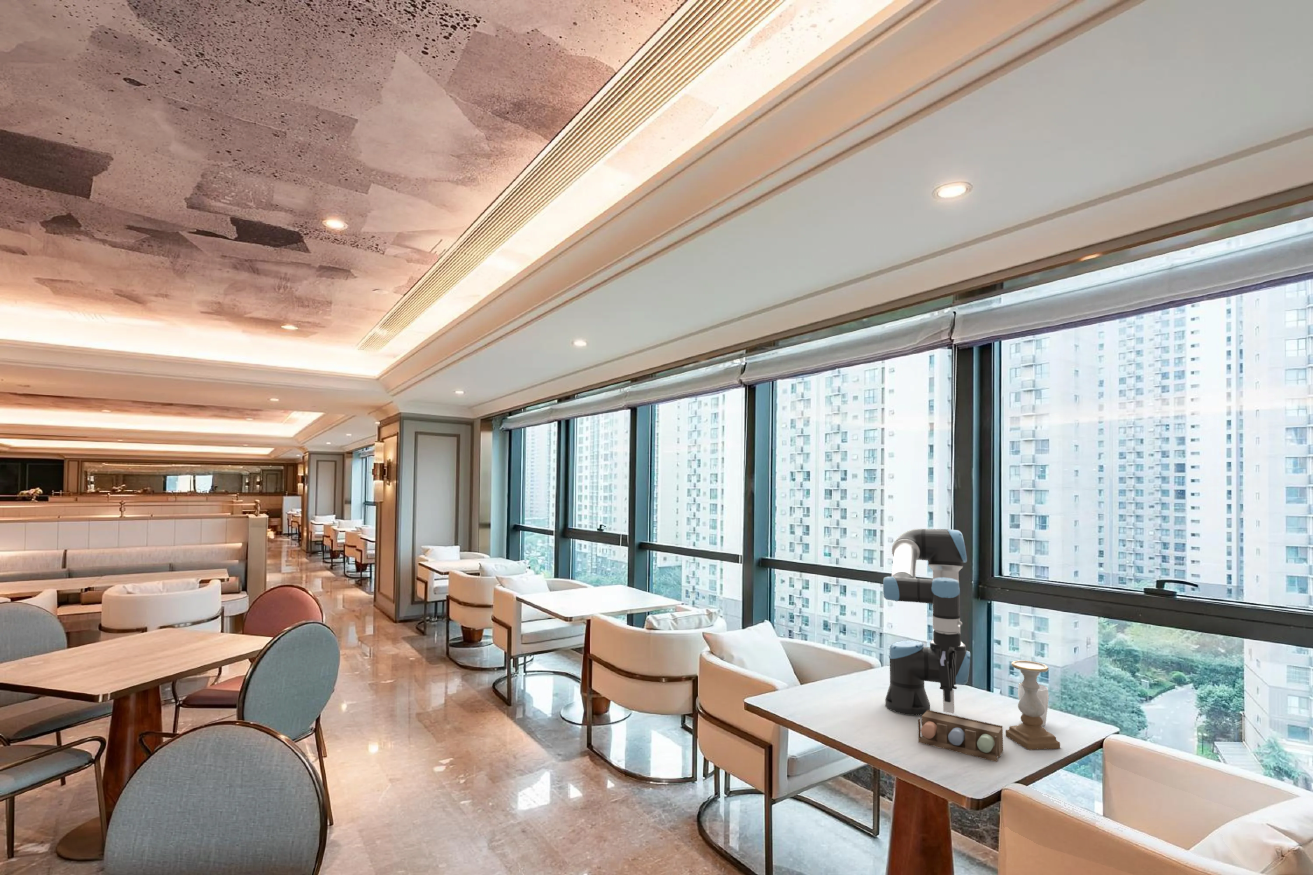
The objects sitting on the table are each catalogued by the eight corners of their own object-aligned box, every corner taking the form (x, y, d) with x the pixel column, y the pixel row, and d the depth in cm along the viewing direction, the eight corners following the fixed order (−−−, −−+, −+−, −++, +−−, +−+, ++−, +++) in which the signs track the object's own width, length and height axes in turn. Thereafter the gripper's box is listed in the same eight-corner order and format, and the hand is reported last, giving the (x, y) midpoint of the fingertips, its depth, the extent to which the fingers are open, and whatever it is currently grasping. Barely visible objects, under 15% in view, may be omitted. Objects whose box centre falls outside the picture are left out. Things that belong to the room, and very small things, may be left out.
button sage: (977, 750, 187) (976, 736, 188) (980, 746, 191) (979, 732, 191) (992, 754, 185) (991, 739, 185) (994, 749, 188) (994, 735, 188)
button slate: (948, 743, 192) (947, 729, 193) (951, 739, 195) (951, 725, 196) (962, 746, 190) (962, 733, 190) (965, 742, 193) (965, 729, 193)
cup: (1054, 728, 210) (1052, 691, 211) (1024, 726, 212) (1023, 689, 213) (1043, 718, 219) (1042, 683, 220) (1015, 716, 221) (1013, 681, 221)
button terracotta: (920, 736, 197) (920, 723, 198) (924, 732, 200) (924, 719, 201) (934, 740, 195) (934, 726, 195) (937, 735, 198) (937, 722, 198)
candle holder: (1004, 735, 204) (1002, 660, 206) (1037, 734, 205) (1034, 659, 207) (1027, 749, 193) (1024, 670, 195) (1061, 748, 194) (1058, 669, 196)
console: (918, 742, 198) (917, 718, 199) (927, 732, 206) (926, 709, 207) (996, 761, 185) (995, 736, 185) (1003, 750, 193) (1002, 725, 193)
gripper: (954, 637, 181) (957, 721, 180) (965, 628, 191) (967, 707, 190) (927, 633, 186) (929, 715, 185) (939, 624, 196) (941, 702, 195)
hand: (948, 711), depth 187 cm, fingers closed
